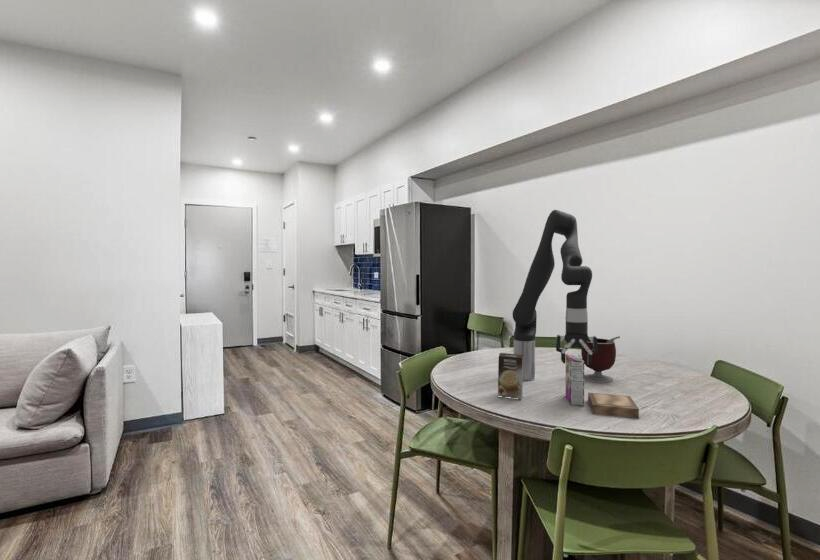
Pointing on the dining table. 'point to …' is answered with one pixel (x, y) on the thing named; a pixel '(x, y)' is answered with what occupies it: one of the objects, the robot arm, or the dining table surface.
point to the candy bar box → (575, 379)
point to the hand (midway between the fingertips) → (576, 363)
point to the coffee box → (510, 375)
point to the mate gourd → (600, 359)
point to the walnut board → (613, 405)
